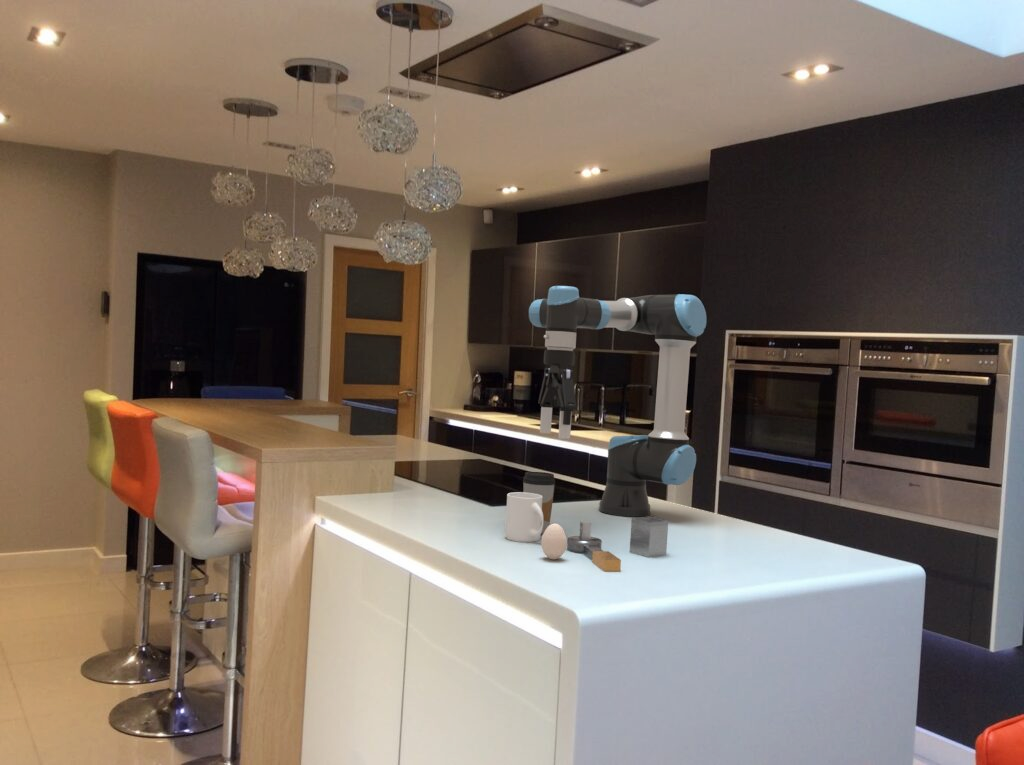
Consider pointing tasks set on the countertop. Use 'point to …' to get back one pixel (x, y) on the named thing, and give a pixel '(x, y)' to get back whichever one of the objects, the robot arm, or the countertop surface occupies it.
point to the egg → (554, 541)
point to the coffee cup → (541, 492)
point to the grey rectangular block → (648, 536)
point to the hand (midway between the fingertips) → (554, 435)
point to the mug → (524, 517)
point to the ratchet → (592, 549)
